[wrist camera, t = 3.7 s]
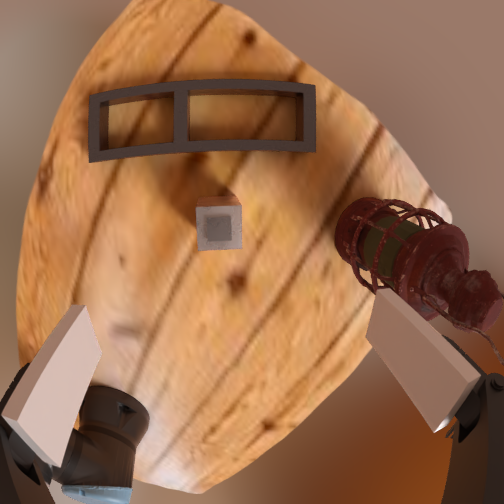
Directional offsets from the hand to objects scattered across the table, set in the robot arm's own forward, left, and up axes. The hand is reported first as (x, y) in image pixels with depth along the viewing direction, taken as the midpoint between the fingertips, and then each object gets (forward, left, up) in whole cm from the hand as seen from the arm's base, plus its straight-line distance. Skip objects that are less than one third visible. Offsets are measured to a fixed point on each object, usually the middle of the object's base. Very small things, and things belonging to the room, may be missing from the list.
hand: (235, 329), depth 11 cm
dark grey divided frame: (-2, +12, -24) cm, 27 cm away
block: (0, 0, -24) cm, 24 cm away
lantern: (+21, -3, -24) cm, 32 cm away
